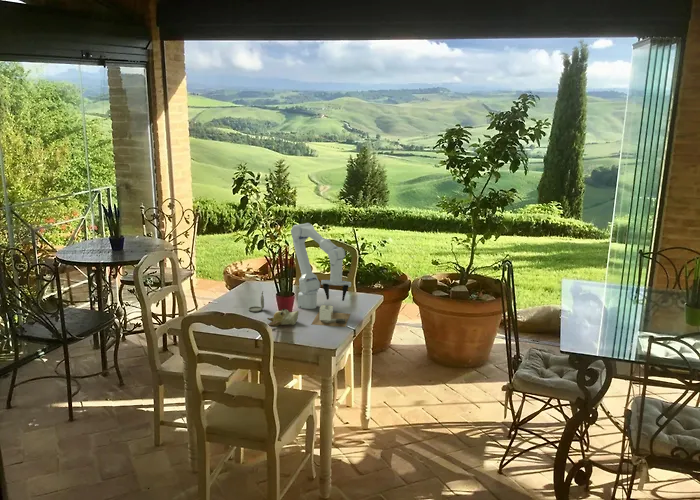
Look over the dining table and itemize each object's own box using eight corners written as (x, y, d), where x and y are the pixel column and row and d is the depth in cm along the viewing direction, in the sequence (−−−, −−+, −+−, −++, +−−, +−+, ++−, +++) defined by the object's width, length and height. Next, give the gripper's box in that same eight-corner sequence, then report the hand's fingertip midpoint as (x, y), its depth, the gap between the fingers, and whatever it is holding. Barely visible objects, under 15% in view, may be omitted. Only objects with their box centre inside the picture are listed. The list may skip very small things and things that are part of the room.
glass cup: (246, 310, 292) (245, 291, 289) (259, 306, 298) (259, 287, 295) (256, 314, 286) (256, 294, 284) (269, 310, 292) (269, 291, 290)
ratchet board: (311, 327, 270) (311, 316, 269) (318, 314, 289) (318, 303, 287) (345, 330, 268) (345, 318, 267) (350, 316, 287) (350, 306, 286)
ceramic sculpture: (298, 311, 265) (265, 313, 264) (299, 329, 267) (266, 331, 266) (298, 304, 276) (266, 306, 274) (299, 321, 278) (267, 323, 276)
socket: (319, 319, 272) (319, 308, 271) (321, 316, 277) (321, 305, 276) (330, 320, 271) (331, 309, 270) (332, 316, 277) (332, 305, 275)
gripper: (319, 273, 276) (319, 300, 279) (349, 275, 274) (349, 303, 277) (322, 270, 283) (322, 296, 286) (352, 272, 281) (351, 298, 284)
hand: (335, 299), depth 282 cm, fingers open, 7 cm apart
